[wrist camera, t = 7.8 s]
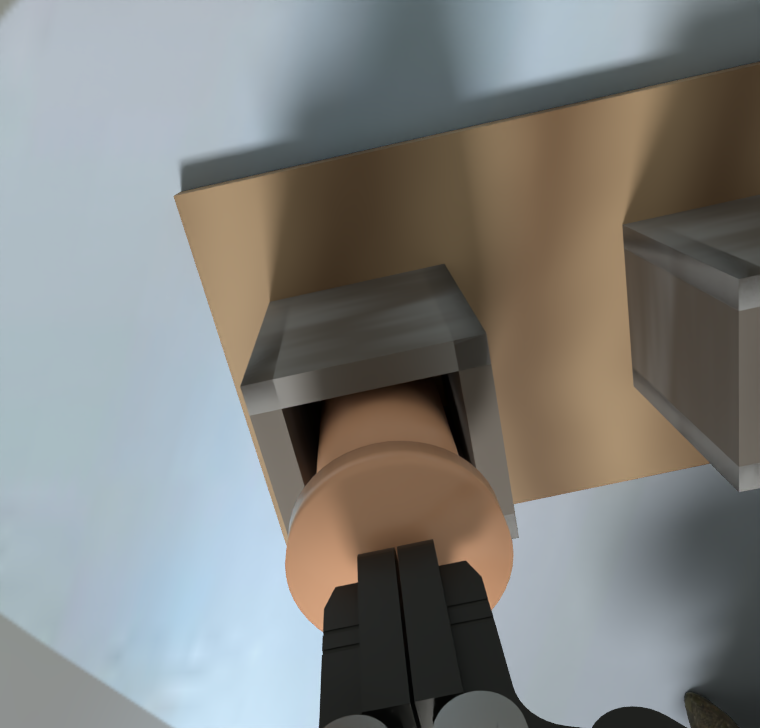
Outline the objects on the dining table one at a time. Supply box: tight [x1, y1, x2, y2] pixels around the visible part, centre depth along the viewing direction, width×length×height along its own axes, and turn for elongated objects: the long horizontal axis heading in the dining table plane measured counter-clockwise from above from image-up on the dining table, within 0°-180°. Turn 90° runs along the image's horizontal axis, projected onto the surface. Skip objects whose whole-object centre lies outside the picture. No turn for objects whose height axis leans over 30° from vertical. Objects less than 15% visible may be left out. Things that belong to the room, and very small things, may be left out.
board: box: [174, 62, 760, 545], centre depth 21 cm, size 22×14×8 cm, turn 102°
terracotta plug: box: [285, 377, 513, 632], centre depth 17 cm, size 5×5×8 cm
